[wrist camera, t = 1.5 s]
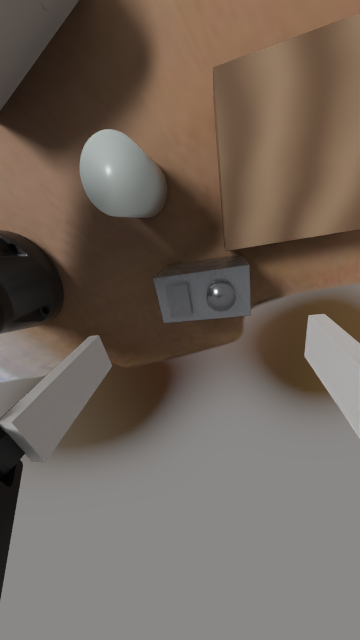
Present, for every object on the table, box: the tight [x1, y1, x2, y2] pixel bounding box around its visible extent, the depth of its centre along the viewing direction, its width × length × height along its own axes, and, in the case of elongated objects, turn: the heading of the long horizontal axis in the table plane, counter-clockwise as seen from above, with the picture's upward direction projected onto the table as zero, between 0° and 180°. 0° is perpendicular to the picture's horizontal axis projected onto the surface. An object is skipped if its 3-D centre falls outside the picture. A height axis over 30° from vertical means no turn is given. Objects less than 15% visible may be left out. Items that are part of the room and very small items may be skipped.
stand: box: [213, 13, 360, 251], centre depth 19 cm, size 14×14×4 cm
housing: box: [153, 254, 251, 323], centre depth 24 cm, size 10×6×8 cm, turn 100°
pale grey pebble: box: [80, 129, 168, 218], centre depth 20 cm, size 6×6×8 cm
